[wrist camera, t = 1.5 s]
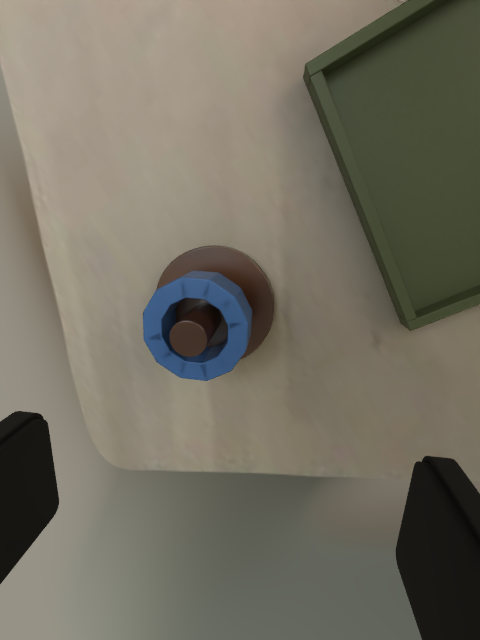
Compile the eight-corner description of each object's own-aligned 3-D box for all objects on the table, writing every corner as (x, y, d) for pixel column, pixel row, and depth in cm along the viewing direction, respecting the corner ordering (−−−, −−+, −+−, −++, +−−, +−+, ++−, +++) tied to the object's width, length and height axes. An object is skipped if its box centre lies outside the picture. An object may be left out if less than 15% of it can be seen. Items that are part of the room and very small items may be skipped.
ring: (142, 296, 25) (123, 306, 22) (224, 254, 23) (216, 259, 20) (187, 375, 26) (175, 394, 23) (267, 341, 24) (265, 357, 22)
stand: (139, 277, 29) (80, 300, 20) (241, 223, 26) (222, 225, 18) (193, 374, 31) (160, 431, 22) (293, 332, 28) (297, 378, 20)
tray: (303, 77, 23) (304, 63, 21) (552, -76, 19) (583, -110, 17) (400, 323, 27) (410, 331, 25) (623, 235, 23) (654, 236, 21)
